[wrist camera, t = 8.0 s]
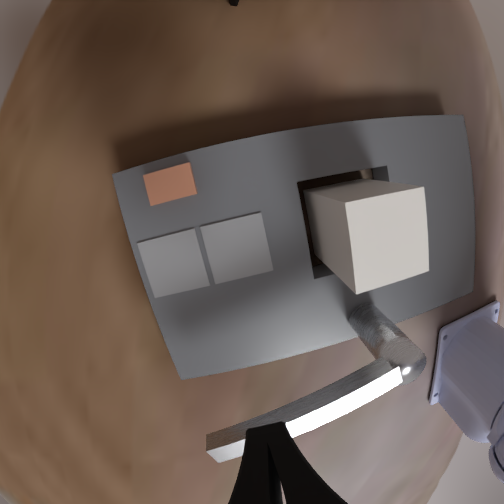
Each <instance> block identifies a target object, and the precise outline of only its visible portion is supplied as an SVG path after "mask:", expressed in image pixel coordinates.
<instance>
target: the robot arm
mask: <svg viewBox="0 0 504 504" xmlns="http://www.w3.org/2000/svg"><path fill="white" fill-rule="evenodd" d="M499 307H500V302H498V301H497V300H496V301H494V302H492V303H490V304H488V305H486V306H485V307H483V308H481V309H479V310H477V311H475V312H473V313H471V314H469V315H467V316H465V317H463V318H461V319H459V320H457V321H454V322H452V323H450V324H448V325H446V326H444V327H442V328H441V330H440V332H439V340H438V349H437V357H436V364H435V370H434V377H433V382H432V388H431V393H430V399H429V403H430V404H431V405H434V404H436V403H438V402H439V403H440V405H441V406H442V407H443V408H444V409H445V411H446V412H447V413H448V414H449V415H450V417H451V418H452V419H453V420H454V421H455V423H456V424H457V425H458V426H459V428H460V429H461V430H462V431H463V433H464V434H465V435H466V436H467V437H469V438H470V439H472V440H474V441H477V442H481V443H488V442H490V443H491V444H492V445H491V446H490V449H489V460H490V465H491V468H492V471H493V472H494V474H495V475H496V477H497V478H498V479H499V480H500V481H501V482H502V483H504V328H503V327H501V326H500V325H498V324H497V319H498V313H499ZM280 481H281V483H280ZM281 484H282V487H283V491H284V494H285V499H286V504H348V503H347V502H345V501H344V500H343V499H342V498H341V497H340V496H339V495H338V494H337V493H335V492H334V491H333V490H332V489H331V488H330V487H329V486H328V485H327V484H326V483H325V481H324V480H323V479H322V478H321V477H320V476H319V475H318V474H317V473H316V471H315V470H314V469H313V468H312V466H311V465H310V464H309V462H308V461H307V460H306V458H305V457H304V456H303V454H302V453H301V452H300V450H299V449H298V447H297V445H296V444H295V442H294V440H293V439H292V437H291V435H290V433H289V431H288V428H287V426H286V423H285V422H283V421H280V422H276V423H272V424H267V425H263V426H258V427H253V428H248V429H247V430H246V437H245V445H244V451H243V456H242V461H241V465H240V469H239V473H238V477H237V480H236V483H235V486H234V489H233V492H232V495H231V498H230V500H229V503H228V504H283V501H282V492H281Z"/></svg>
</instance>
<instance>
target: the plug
mask: <svg viewBox="0 0 504 504" xmlns="http://www.w3.org/2000/svg"><path fill="white" fill-rule="evenodd" d="M303 193H304V199H305V204H306V209H307V215H308V220H309V226H310V232H311V237H312V243H313V249H314V254H315V255H316V256H317V257H318V258H319V259H320V260H321V261H322V262H323V263H324V264H325V265H326V266H327V267H328V268H329V269H330V270H331V271H333V272H334V273H335V274H336V275H337V276H338V277H339V278H340V279H341V280H342V281H343V282H344V283H345V284H346V285H347V286H348V287H349V288H350V289H351V290H352V291H353V292H354V293H355V294H359V293H363V292H366V291H369V290H373V289H376V288H379V287H382V286H385V285H388V284H392V283H395V282H398V281H401V280H404V279H407V278H410V277H413V276H416V275H419V274H422V273H425V272H427V271H429V249H428V228H427V213H426V202H425V192H424V187H422V186H416V185H409V184H402V183H394V182H387V181H379V180H371V179H358V180H353V181H347V182H342V183H337V184H332V185H327V186H322V187H317V188H312V189H307V190H303Z"/></svg>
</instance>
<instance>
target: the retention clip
mask: <svg viewBox="0 0 504 504" xmlns="http://www.w3.org/2000/svg"><path fill="white" fill-rule="evenodd" d="M349 324H350V326H351V328H352V329H353V330H354V332H355V333H356V334H357V336H358V337H359V338H360V339H361V341H362V342H363V343H364V345H365V346H366V347H367V348H368V350H369V351H370V352H371V354H372V355H373V356H374V358H375V359H376V360H375V361H373V362H372V363H370V364H368V365H366V366H364V367H363V368H361V369H359V370H357V371H355V372H353V373H351V374H350V375H348V376H346V377H344V378H342V379H340V380H338V381H336V382H334V383H332V384H330V385H328V386H326V387H324V388H322V389H320V390H318V391H316V392H313V393H311V394H309V395H307V396H305V397H303V398H300V399H298V400H296V401H294V402H291V403H289V404H287V405H285V406H282V407H280V408H277V409H275V410H273V411H270V412H268V413H265V414H263V415H260V416H258V417H255V418H252V419H250V420H247V421H244V422H242V423H239V424H236V425H233V426H230V427H228V428H225V429H222V430H219V431H216V432H213V433H210V434H206V452H207V453H208V454H209V455H211V456H212V457H213V458H214V459H215V460H216V461H217V462H218V463H220V462H223V461H226V460H230V459H233V458H236V457H240V456H243V451H244V445H245V437H246V430H247V429H248V428H253V427H258V426H263V425H267V424H272V423H276V422H280V421H283V422H285V423H286V426H287V428H288V431H289V433H290V435H291V437H295V436H297V435H300V434H302V433H305V432H307V431H309V430H312V429H314V428H316V427H318V426H321V425H323V424H325V423H327V422H329V421H331V420H333V419H336V418H338V417H340V416H342V415H344V414H346V413H348V412H350V411H352V410H354V409H356V408H358V407H359V406H361V405H363V404H365V403H367V402H369V401H371V400H373V399H374V398H376V397H378V396H380V395H381V394H383V393H385V392H387V391H388V390H390V389H392V388H393V387H395V386H397V385H406V384H409V383H410V382H412V381H414V380H415V379H416V378H417V377H418V376H419V375H420V374H421V373H422V371H423V370H424V368H425V365H426V356H425V354H424V353H423V352H422V351H421V350H420V349H419V348H418V347H417V346H416V345H415V344H414V343H413V342H412V341H411V340H410V339H409V338H408V337H407V336H406V335H405V334H404V333H403V332H402V331H401V330H400V329H399V328H398V327H397V326H396V325H395V324H394V323H393V322H392V321H391V320H390V319H388V318H387V317H386V316H385V315H384V314H383V313H382V312H381V311H380V310H379V309H378V308H377V307H376V306H375V305H374V304H372V303H363V304H360V305H359V306H357V307H356V308H355V309H354V310H353V311H352V313H351V315H350V319H349Z"/></svg>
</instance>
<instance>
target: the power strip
mask: <svg viewBox="0 0 504 504" xmlns="http://www.w3.org/2000/svg"><path fill="white" fill-rule="evenodd" d="M369 168H372V171H373V177H374V180H379V181H387V182H394V183H402V184H409V185H416V186H422V187H424V192H425V202H426V213H427V228H428V249H429V271H427V272H425V273H422V274H419V275H416V276H413V277H410V278H407V279H404V280H401V281H398V282H395V283H392V284H388V285H385V286H382V287H379V288H376V289H373V290H369V291H366V292H363V293H359V294H355V293H354V292H353V291H352V290H351V289H350V288H349V287H348V286H347V285H346V284H345V283H344V282H343V281H342V280H341V279H340V278H339V277H338V276H337V275H336V274H335V273H334V272H333V271H331V270H330V269H329V268H328V267H327V266H326V265H325V264H320V265H316V266H312V264H311V258H310V252H309V246H308V240H307V235H306V229H305V223H304V218H303V213H302V207H301V202H300V197H299V192H298V187H297V182H299V181H304V180H309V179H314V178H319V177H324V176H330V175H335V174H340V173H346V172H352V171H357V170H363V169H369ZM112 176H113V181H114V185H115V189H116V193H117V197H118V200H119V204H120V208H121V212H122V215H123V219H124V223H125V226H126V230H127V233H128V236H129V240H130V243H131V246H132V250H133V253H134V256H135V259H136V262H137V265H138V269H139V272H140V275H141V278H142V281H143V283H144V286H145V289H146V292H147V295H148V298H149V301H150V303H151V306H152V309H153V312H154V314H155V317H156V320H157V322H158V325H159V327H160V330H161V333H162V335H163V338H164V340H165V343H166V345H167V347H168V350H169V352H170V355H171V357H172V360H173V362H174V364H175V367H176V369H177V371H178V373H179V376H180V378H181V380H184V379H190V378H195V377H201V376H206V375H212V374H217V373H222V372H227V371H232V370H236V369H241V368H245V367H250V366H254V365H259V364H263V363H267V362H271V361H275V360H279V359H283V358H287V357H291V356H294V355H298V354H302V353H305V352H309V351H313V350H316V349H320V348H323V347H326V346H330V345H333V344H336V343H340V342H343V341H346V340H349V339H352V338H355V337H358V336H357V334H356V333H355V332H354V330H353V329H352V328H351V326H350V324H349V319H350V315H351V313H352V311H353V310H354V309H355V308H356V307H357V306H359V305H360V304H363V303H372V304H374V305H375V306H376V307H377V308H378V309H379V310H380V311H381V312H382V313H383V314H384V315H385V316H386V317H387V318H388V319H390V320H391V321H392V322H393V323H394V324H396V323H398V322H401V321H404V320H406V319H409V318H412V317H414V316H417V315H419V314H422V313H424V312H427V311H429V310H432V309H434V308H437V307H439V306H441V305H444V304H446V303H448V302H451V301H453V300H455V299H458V298H460V297H462V296H464V295H466V294H469V293H471V292H473V285H474V268H475V205H474V189H473V178H472V168H471V159H470V152H469V145H468V138H467V132H466V126H465V121H464V116H463V115H426V116H405V117H390V118H378V119H367V120H357V121H348V122H340V123H332V124H324V125H317V126H311V127H304V128H298V129H292V130H286V131H280V132H274V133H269V134H264V135H259V136H254V137H249V138H244V139H239V140H235V141H230V142H226V143H221V144H217V145H213V146H209V147H204V148H200V149H196V150H193V151H189V152H185V153H181V154H177V155H174V156H170V157H167V158H163V159H160V160H156V161H153V162H149V163H146V164H143V165H140V166H136V167H133V168H130V169H127V170H124V171H121V172H118V173H115V174H112Z"/></svg>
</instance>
